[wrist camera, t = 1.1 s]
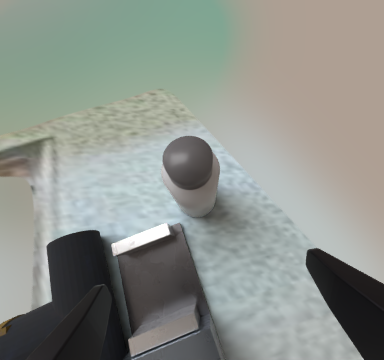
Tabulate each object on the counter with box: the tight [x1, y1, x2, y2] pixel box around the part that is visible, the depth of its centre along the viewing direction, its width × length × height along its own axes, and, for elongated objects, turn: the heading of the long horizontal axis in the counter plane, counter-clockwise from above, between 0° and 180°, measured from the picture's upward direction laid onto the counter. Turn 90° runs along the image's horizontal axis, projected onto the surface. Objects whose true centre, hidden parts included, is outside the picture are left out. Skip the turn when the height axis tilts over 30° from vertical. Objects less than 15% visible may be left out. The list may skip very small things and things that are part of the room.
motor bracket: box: [111, 223, 226, 360], centre depth 17 cm, size 15×8×5 cm, turn 20°
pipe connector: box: [0, 230, 127, 360], centre depth 17 cm, size 12×5×15 cm
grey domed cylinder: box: [161, 136, 220, 217], centre depth 18 cm, size 5×5×11 cm
